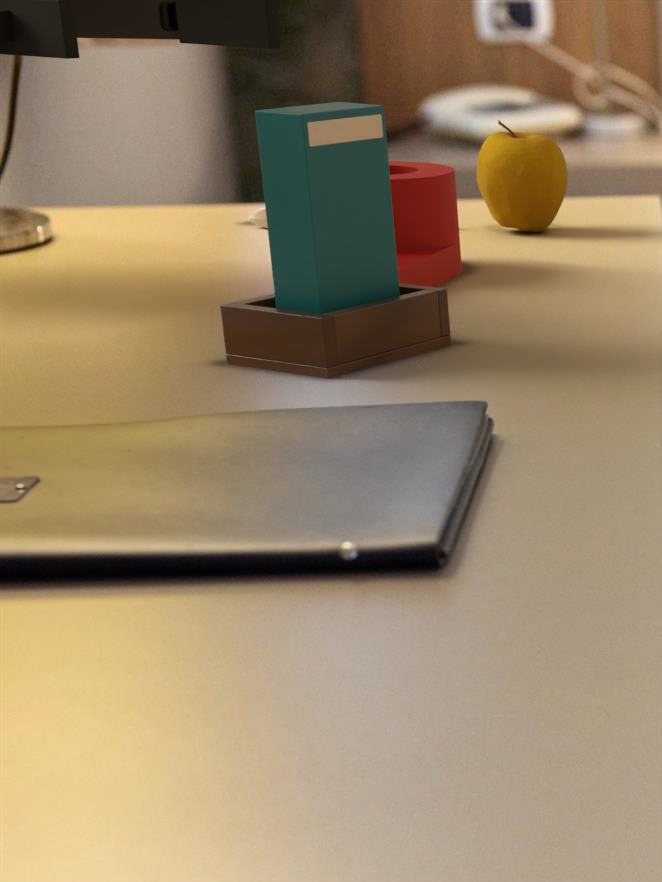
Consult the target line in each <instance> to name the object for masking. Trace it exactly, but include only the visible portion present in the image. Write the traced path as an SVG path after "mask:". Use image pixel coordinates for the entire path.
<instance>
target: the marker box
mask: <svg viewBox="0 0 662 882" xmlns="http://www.w3.org/2000/svg"><path fill="white" fill-rule="evenodd" d="M254 115H255V123H256V133H257V144H258V152H259V161H260V170H261V179H262V181H261V182H262V189H263V198H264V207H265V208H266V218H267V227H268V228H267V235H268V245H269V254H270V255H269V256H270V262H271V274H272V281H273V282H272V283H273V290H274V293H275V301H276V308H277V309H284V310H292V311H300V312H308V313H316V314H324V313H329V312H333V311H337V310H341V309H346V308H350V307H354V306H358V305H363V304H367V303H371V302H375V301H380V300H384V299H388V298H392V297H397V296H400V290H399V279H398V267H397V255H396V243H395V231H394V220H393V208H392V196H391V184H390V172H389V161H390V160H389V150H388V149H389V148H388V139H387V138H388V137H387V125H386V113H385V106H384V105H382V104H371V103H358V102H346V101H334V102H325V103H315V104H305V105H294V106H285V107H276V108H267V109H266V108H265V109H256V110H255V111H254Z"/></svg>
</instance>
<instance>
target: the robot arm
mask: <svg viewBox="0 0 662 882" xmlns="http://www.w3.org/2000/svg"><path fill="white" fill-rule="evenodd" d="M280 38H281V37H280V26H279V18H278V7H277V0H0V55H9V56H22V57H38V58H50V59H51V58H52V59H54V58H55V59H66V60H67V59H68V60H69V59H80V51H79V42H78V39H112V40H113V39H115V40H116V39H117V40H118V39H119V40H120V39H121V40H122V39H123V40H124V39H125V40H179V44H188V45H205V46H221V47H235V48H236V47H238V48H253V49H254V48H255V49H268V50H269V49H270V50H273V49H275V50H276V49H281V39H280Z"/></svg>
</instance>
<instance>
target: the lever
mask: <svg viewBox="0 0 662 882" xmlns="http://www.w3.org/2000/svg"><path fill="white" fill-rule="evenodd" d="M455 170H456V169H455V168H454V167H452V166H450V165H446V164H440V163H434V162H433V163H432V162H422V161H406V160H389V172H390V184H391V196H392V208H393V220H394V231H395V243H396V255H397V267H398V279H399V283H403V284H412V285H420V286H429V287H436V286H438V285H440V284H442V283H444V282H446V281H448V280H450V279H452V278H454V277H457V276H458V275H460V274H461V273H462V271H463V268H462V267H463V266H462V253H461V251H462V250H461V239H460V225H459V211H458V197H457V183H456V182H457V181H456V171H455Z"/></svg>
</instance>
